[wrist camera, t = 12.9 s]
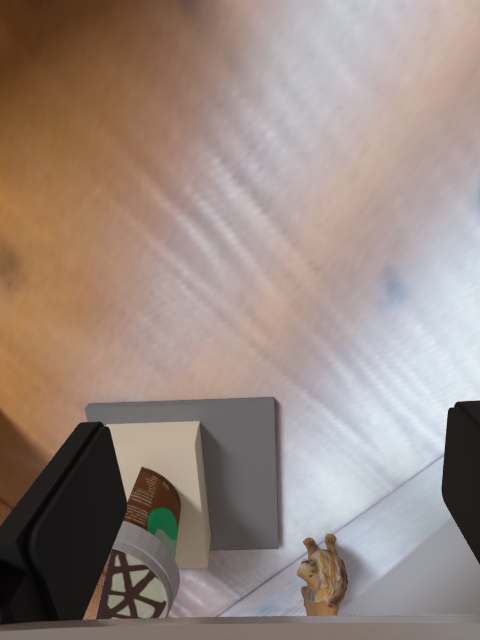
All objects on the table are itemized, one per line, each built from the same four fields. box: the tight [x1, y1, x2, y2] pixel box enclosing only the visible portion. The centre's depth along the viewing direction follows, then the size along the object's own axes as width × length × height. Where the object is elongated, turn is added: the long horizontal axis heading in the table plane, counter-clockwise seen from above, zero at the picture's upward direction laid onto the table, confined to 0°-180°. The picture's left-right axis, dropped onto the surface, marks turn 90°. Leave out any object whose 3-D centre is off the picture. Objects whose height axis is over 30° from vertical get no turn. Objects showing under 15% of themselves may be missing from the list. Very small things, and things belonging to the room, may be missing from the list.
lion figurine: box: [297, 534, 348, 616], centre depth 45 cm, size 15×5×9 cm, turn 9°
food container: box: [96, 467, 181, 620], centre depth 36 cm, size 12×6×10 cm, turn 164°
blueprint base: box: [85, 397, 278, 569], centre depth 43 cm, size 20×20×5 cm
